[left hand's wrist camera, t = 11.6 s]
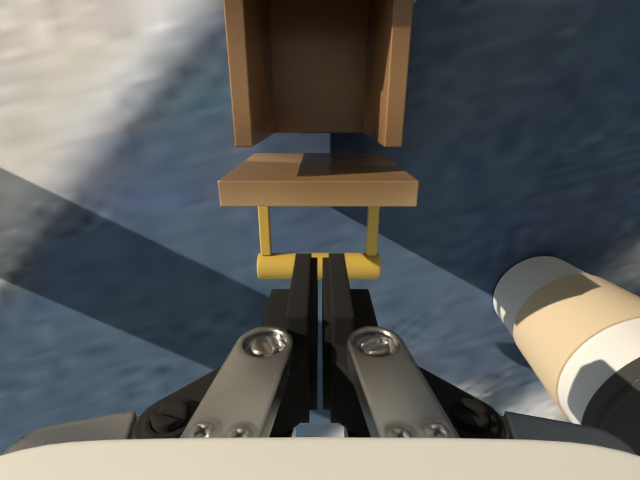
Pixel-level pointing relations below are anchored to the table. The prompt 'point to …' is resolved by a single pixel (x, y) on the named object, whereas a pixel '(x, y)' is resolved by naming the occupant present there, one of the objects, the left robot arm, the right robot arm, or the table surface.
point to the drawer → (318, 111)
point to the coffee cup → (577, 341)
